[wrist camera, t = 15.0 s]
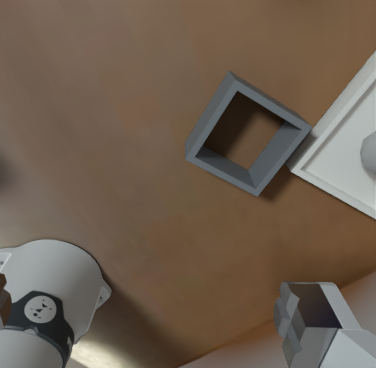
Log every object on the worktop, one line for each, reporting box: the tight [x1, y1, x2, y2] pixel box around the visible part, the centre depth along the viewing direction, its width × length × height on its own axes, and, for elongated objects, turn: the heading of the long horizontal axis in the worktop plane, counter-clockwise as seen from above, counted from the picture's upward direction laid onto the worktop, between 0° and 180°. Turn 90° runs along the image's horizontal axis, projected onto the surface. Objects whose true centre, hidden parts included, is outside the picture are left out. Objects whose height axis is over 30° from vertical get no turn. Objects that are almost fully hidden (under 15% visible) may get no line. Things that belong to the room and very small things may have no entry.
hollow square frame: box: [185, 71, 313, 196], centre depth 37 cm, size 10×10×5 cm
